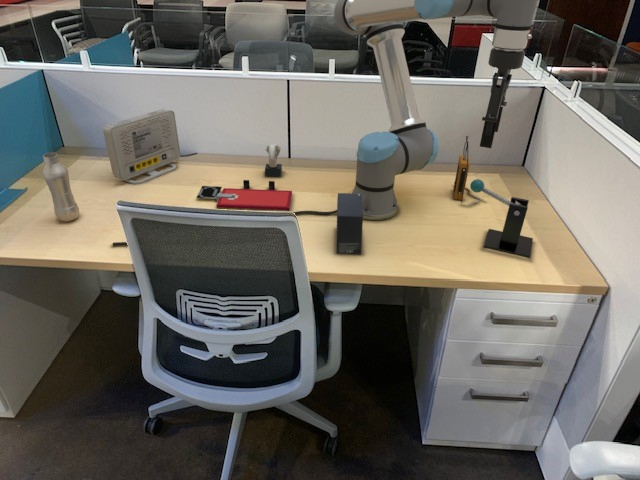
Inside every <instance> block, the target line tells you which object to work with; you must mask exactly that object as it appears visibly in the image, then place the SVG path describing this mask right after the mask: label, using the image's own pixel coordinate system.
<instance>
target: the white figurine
mask: <svg viewBox="0 0 640 480" xmlns="http://www.w3.org/2000/svg"><path fill="white" fill-rule="evenodd" d="M264 151H266V152H267V154H268V163H265V167H264V173H265V174H264V175H265V176H264V177H265V178H281V177H282V173H283V167H282V165H283V164H282V163H278V157H279V155H280V153H281V146H280V145H279V144H276V143H269V144H268V145H267V146H266V147H265V150H264Z"/></svg>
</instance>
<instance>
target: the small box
mask: <svg viewBox="0 0 640 480" xmlns="http://www.w3.org/2000/svg"><path fill="white" fill-rule="evenodd" d="M336 199H337V200H336V201H337V203H336V204H337V205H336V210H337V213H336V254H338V255H362V244H363V243H362V242H363V241H362V239H363V224H364V223H363V222H364V219H363V207H362V195H361V194H358V193H352V192H338V193H337V198H336Z"/></svg>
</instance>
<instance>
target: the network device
mask: <svg viewBox="0 0 640 480" xmlns="http://www.w3.org/2000/svg"><path fill="white" fill-rule="evenodd" d="M176 120H177V119H176V115H175V112H174V110H171V109H167V108H160V109H156V110H153V111H150V112H147V113H143V114H140V115H136V116H133V117H132V116H131V117H129V118H126V119H122V120H118V121H116V122H112V123H108V124H105V125H104V126H103V128H102V133H103V138H104V142H105V145H106V150H107V155H108V159H109V164H110V167H111V171H112V176H113V177H114V178H117V179H118V180H121V181H124V182H127V183H129V184H133V185H139V184H143V183H145V182H148V181H150V180H152V179H155V178H158V177H159V176H162V175H165V174H167V173H170V172H172V171H175V170H176V169H177V165H176V164H175V163H173V162H174V161H175V162H176V161H178V160H179V159H180V158H181V148H180V142H179V134H178V129H177V128H178V127H177V122H176ZM165 165H166V166H168V167H170V168H168V169H167V168H166V169H165V170H162V171H156V169H157V168H160V167H162V166H165ZM142 174H145V175H148V177H144V178H143V179H140V180H134V179H131V178H135V177H136V176H139V175H142Z"/></svg>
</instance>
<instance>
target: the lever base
mask: <svg viewBox="0 0 640 480" xmlns="http://www.w3.org/2000/svg"><path fill="white" fill-rule="evenodd" d="M510 201H511V202H512V203H515V201H518V202H519V203H521V204H523V205H525V206H523V205H517V204H512V203H510V205H509V206H508V209H507V213H506V216H505V221H504V225H503V228H502V230H497V229H493V228H488V230H487V233H486V237H485V241H484V243H483V248H484V249H488V250H492V251H497V252H500V253H505V254H510V255H515V256H517V257H523V258H527V259H531V256H532V248H533V240H534V238H533V237H529V236H524V235H521V233H522V230H523V226H524V222H525V219H526V215H527V212H528V208H529V202H530V200H529V199H525V198H520V197H514V196H511V198H510Z"/></svg>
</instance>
